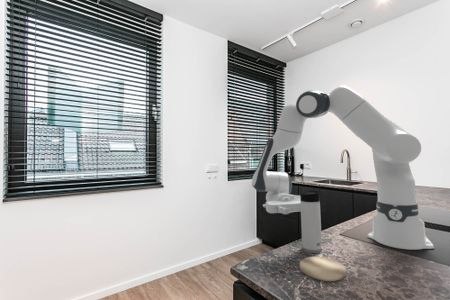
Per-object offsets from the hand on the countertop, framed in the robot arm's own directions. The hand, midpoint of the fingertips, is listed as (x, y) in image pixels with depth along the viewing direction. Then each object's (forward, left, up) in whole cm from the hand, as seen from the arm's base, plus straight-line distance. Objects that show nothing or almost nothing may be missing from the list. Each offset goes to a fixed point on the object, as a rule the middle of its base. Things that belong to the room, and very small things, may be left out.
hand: (297, 210), depth 89 cm
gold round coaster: (+19, +15, -11) cm, 26 cm away
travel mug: (+7, +8, -11) cm, 15 cm away
